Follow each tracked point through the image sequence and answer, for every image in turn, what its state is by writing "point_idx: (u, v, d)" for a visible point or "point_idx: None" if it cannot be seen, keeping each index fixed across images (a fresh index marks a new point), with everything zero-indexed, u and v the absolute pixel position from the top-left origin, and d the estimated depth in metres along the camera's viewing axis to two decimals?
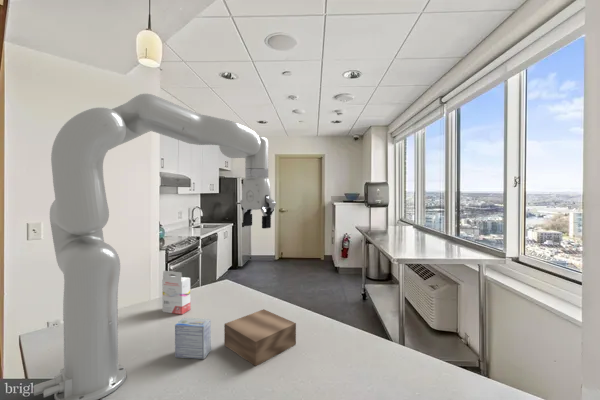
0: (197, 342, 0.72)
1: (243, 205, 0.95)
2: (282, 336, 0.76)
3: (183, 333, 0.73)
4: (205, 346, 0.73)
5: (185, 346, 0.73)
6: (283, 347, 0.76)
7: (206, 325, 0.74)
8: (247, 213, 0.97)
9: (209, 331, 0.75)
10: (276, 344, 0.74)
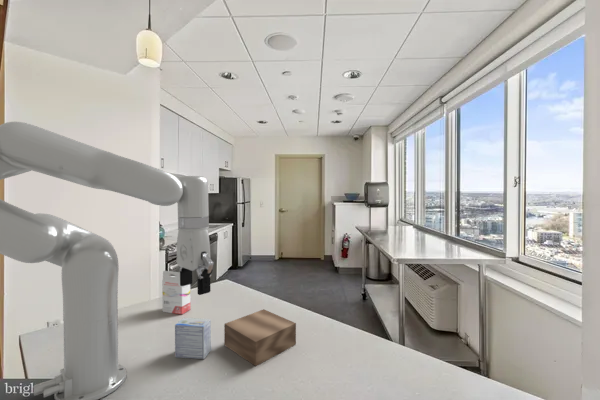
0: (197, 342, 0.72)
1: (177, 261, 0.75)
2: (282, 336, 0.76)
3: (183, 333, 0.73)
4: (205, 346, 0.73)
5: (185, 346, 0.73)
6: (283, 347, 0.76)
7: (206, 325, 0.74)
8: (185, 269, 0.78)
9: (209, 331, 0.75)
10: (276, 344, 0.74)
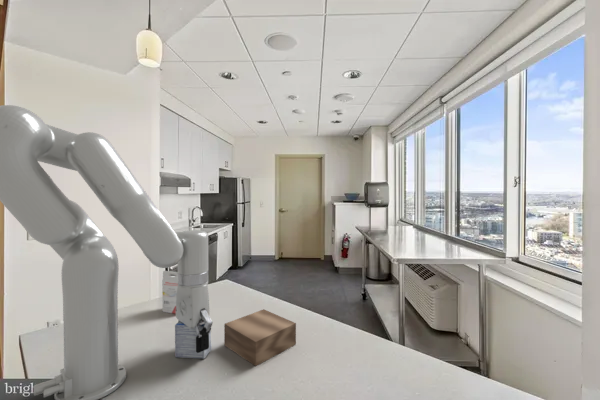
0: None
1: (177, 315, 0.75)
2: (282, 336, 0.76)
3: (184, 333, 0.73)
4: None
5: (186, 346, 0.73)
6: (283, 347, 0.76)
7: None
8: None
9: None
10: (276, 344, 0.74)
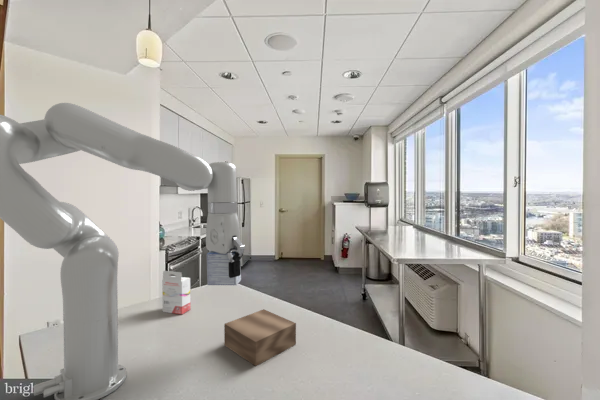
0: None
1: (207, 246, 0.77)
2: (282, 336, 0.76)
3: (215, 261, 0.75)
4: None
5: (218, 274, 0.75)
6: (283, 347, 0.76)
7: None
8: None
9: None
10: (276, 344, 0.74)
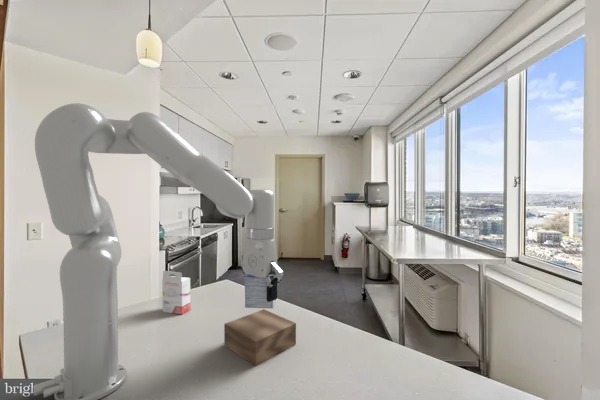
0: (266, 293, 0.77)
1: (244, 270, 0.80)
2: (282, 336, 0.76)
3: (253, 284, 0.77)
4: None
5: (255, 297, 0.77)
6: (283, 347, 0.76)
7: None
8: None
9: None
10: (276, 344, 0.74)
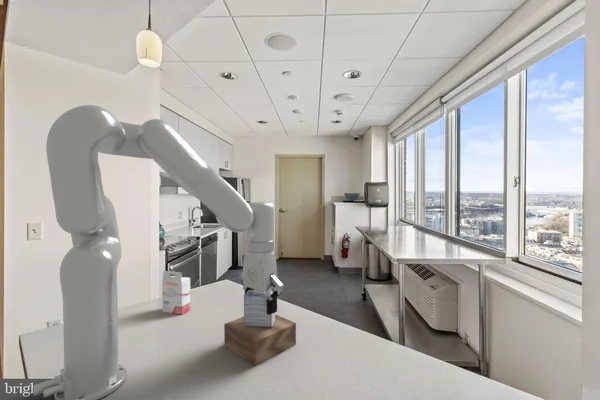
0: (265, 311, 0.77)
1: (244, 282, 0.80)
2: (282, 336, 0.76)
3: (252, 303, 0.77)
4: (272, 315, 0.78)
5: (254, 315, 0.77)
6: (283, 347, 0.76)
7: None
8: (249, 289, 0.82)
9: None
10: (276, 344, 0.74)
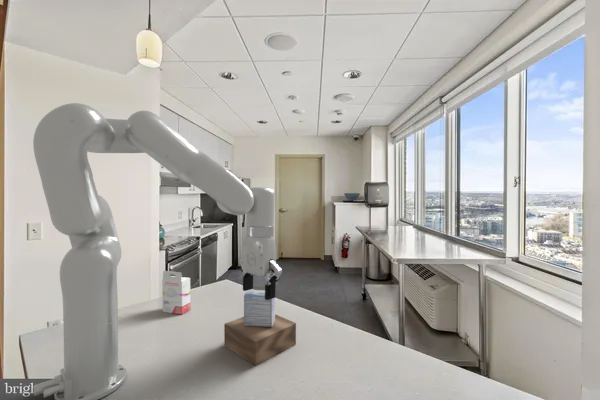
0: (265, 311, 0.77)
1: (243, 267, 0.79)
2: (282, 336, 0.76)
3: (252, 302, 0.77)
4: (272, 315, 0.78)
5: (254, 315, 0.77)
6: (283, 347, 0.76)
7: None
8: (247, 275, 0.82)
9: (274, 302, 0.80)
10: (276, 344, 0.74)
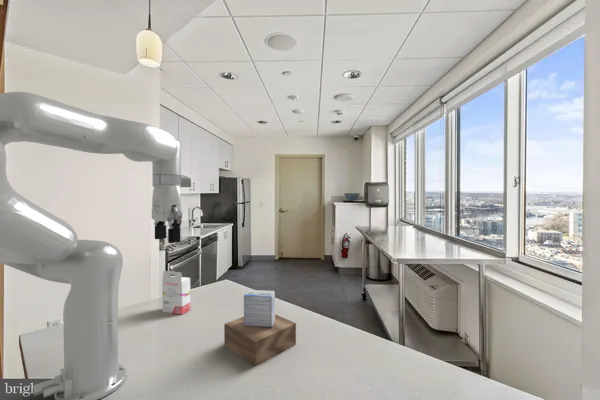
0: (265, 311, 0.77)
1: (152, 216, 0.84)
2: (282, 336, 0.76)
3: (252, 303, 0.77)
4: (272, 315, 0.78)
5: (254, 315, 0.77)
6: (283, 347, 0.76)
7: (273, 296, 0.78)
8: (159, 224, 0.86)
9: (274, 302, 0.80)
10: (276, 344, 0.74)
